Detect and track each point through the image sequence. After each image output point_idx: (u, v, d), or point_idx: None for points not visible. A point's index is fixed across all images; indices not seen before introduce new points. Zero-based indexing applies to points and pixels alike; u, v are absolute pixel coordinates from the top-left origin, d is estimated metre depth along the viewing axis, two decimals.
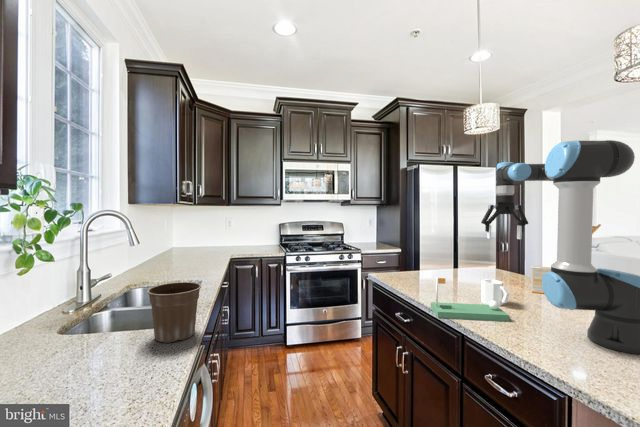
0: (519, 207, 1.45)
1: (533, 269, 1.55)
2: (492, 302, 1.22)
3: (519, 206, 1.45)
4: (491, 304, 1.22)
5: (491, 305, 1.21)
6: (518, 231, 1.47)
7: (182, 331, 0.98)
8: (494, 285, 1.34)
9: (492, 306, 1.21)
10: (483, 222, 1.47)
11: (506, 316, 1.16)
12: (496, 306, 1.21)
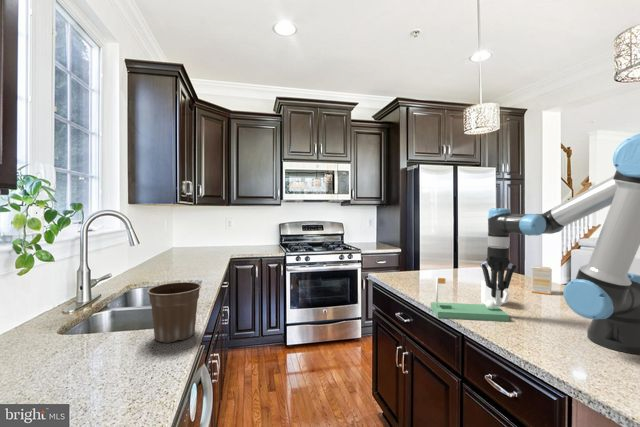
0: (513, 267, 1.20)
1: (533, 269, 1.55)
2: (487, 304, 1.22)
3: (514, 266, 1.20)
4: (487, 306, 1.22)
5: (488, 307, 1.22)
6: None
7: (182, 331, 0.98)
8: None
9: (489, 307, 1.21)
10: (489, 287, 1.21)
11: (506, 316, 1.16)
12: (492, 305, 1.21)
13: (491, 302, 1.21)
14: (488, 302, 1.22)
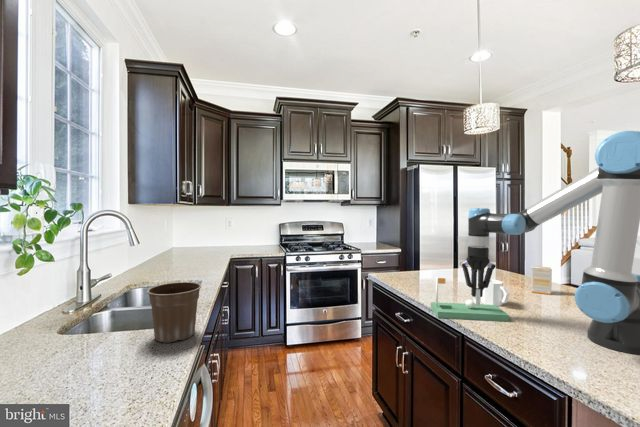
0: (492, 267, 1.21)
1: (533, 269, 1.55)
2: (473, 301, 1.23)
3: (493, 266, 1.21)
4: (471, 301, 1.23)
5: (470, 301, 1.23)
6: None
7: (182, 331, 0.98)
8: (494, 285, 1.34)
9: (469, 302, 1.22)
10: (469, 286, 1.22)
11: (506, 316, 1.16)
12: (472, 305, 1.22)
13: (474, 306, 1.22)
14: (474, 303, 1.23)
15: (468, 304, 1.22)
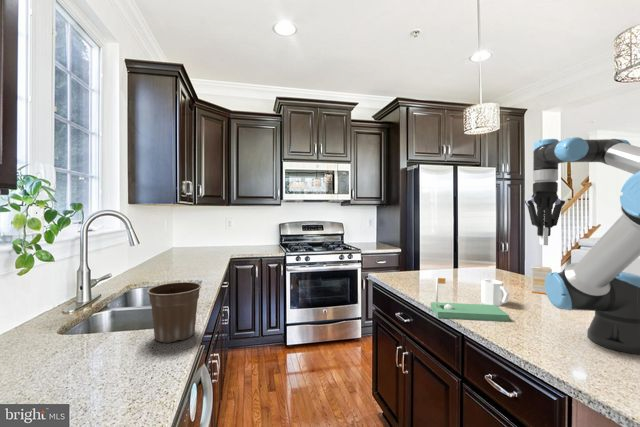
0: (561, 203, 1.12)
1: (533, 269, 1.55)
2: (452, 309, 1.24)
3: (562, 202, 1.12)
4: (452, 308, 1.24)
5: (451, 307, 1.24)
6: None
7: (182, 331, 0.98)
8: (494, 285, 1.34)
9: (450, 307, 1.23)
10: (536, 224, 1.14)
11: (506, 316, 1.16)
12: None
13: None
14: None
15: (448, 307, 1.24)
